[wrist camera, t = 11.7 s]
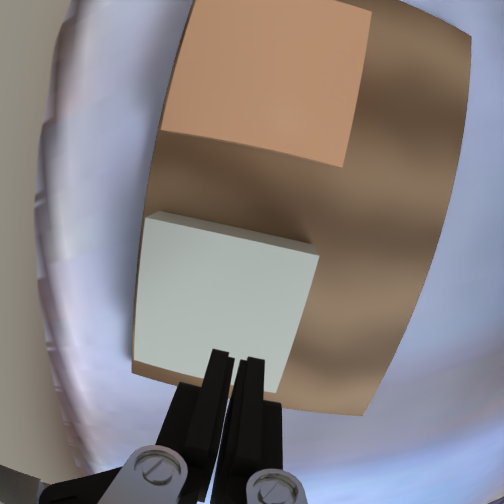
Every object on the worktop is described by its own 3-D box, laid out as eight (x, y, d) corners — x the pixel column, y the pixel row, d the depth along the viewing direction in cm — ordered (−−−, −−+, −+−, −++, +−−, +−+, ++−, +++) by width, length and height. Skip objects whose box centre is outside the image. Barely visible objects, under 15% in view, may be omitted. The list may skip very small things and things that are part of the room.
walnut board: (211, -33, 13) (208, -41, 12) (463, 40, 13) (471, 36, 12) (136, 364, 20) (131, 372, 19) (359, 407, 20) (362, 416, 19)
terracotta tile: (360, 27, 13) (210, -2, 13) (371, 11, 11) (203, -21, 11) (332, 166, 15) (174, 133, 15) (342, 167, 13) (160, 129, 13)
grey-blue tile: (313, 243, 16) (160, 210, 16) (319, 255, 14) (145, 217, 14) (275, 370, 18) (146, 340, 18) (275, 393, 16) (133, 359, 16)
